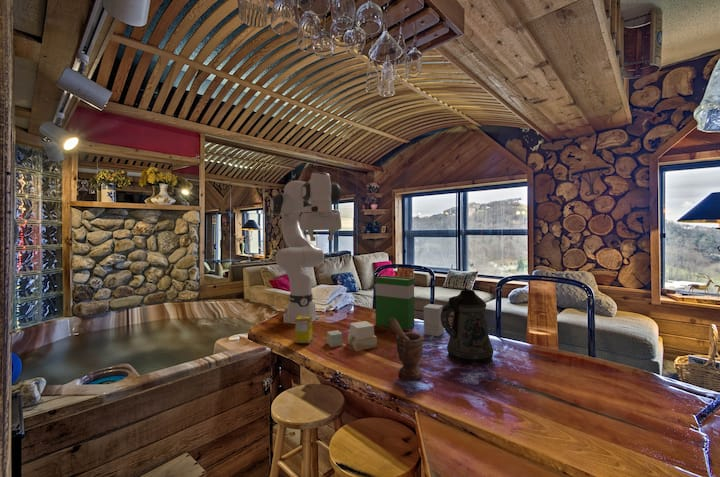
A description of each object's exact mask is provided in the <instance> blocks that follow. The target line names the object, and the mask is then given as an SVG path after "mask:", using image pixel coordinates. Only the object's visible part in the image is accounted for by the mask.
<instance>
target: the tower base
mask: <svg viewBox="0 0 720 477" xmlns="http://www.w3.org/2000/svg"><path fill="white" fill-rule="evenodd" d="M377 340H378V336H376V335H375V334H374V336H373V337H368V338H362V339H356V338H355V337H354V336H352V335H351V334H350V332H349V333H347V344H349V345H350V347H352V348H353V349H354V350H355V351H363V350H367V349H374V348H377V347H378V341H377Z"/></svg>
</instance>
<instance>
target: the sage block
mask: <svg viewBox="0 0 720 477" xmlns="http://www.w3.org/2000/svg"><path fill="white" fill-rule="evenodd" d="M326 344H327V345H328V346H329V347H330V348H334V347H339V346H340V347H341V346H343V333H342V332H341V331H340V330H338V329H336V330H329V331H326Z"/></svg>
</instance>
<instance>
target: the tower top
mask: <svg viewBox="0 0 720 477" xmlns="http://www.w3.org/2000/svg"><path fill="white" fill-rule="evenodd" d="M349 333H350V334H351V335H352V336H354V337H355V338H356V339H362V338H368V337H373V336H374V335H375V325H374V324H372V323H370V322H369V321H367V320H364V321H357V322H351V323H350V322H349Z"/></svg>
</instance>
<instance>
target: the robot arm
mask: <svg viewBox="0 0 720 477" xmlns="http://www.w3.org/2000/svg"><path fill="white" fill-rule="evenodd" d="M342 192H343V191H342V188H341V187H340V185H339V183H337V182H331V175H330V174H329V173H328V172H323V171H314V172H312V173H311V176H310V179H309V180H308V181H306V182H305V181H303V180H292V181H289V182H288V183H286V185H285V186H284V189H283V193H280V192H278V193H277V194H276V195H274V196H272V198H271V199H270V201H269V208H270V211H271V212H272V214H274V215H279V216H280V215H281V216H282V215H283V216H282V217H281V219H280V226H281V229H280V230H281V233H282V237H283V239H284V244H285V245H286V246H287V247H285V248H284V247H283V248H281V249H279V250H278V251H277V252H276V254H275V262H276V265H277V267H279V268H280V269H282V270H283V271H284V272H285V274H286V275H287V277H288V281H289V292H290V293H289V299H288V300H289V302H288V304H287V306H286V307H284V308H283V309H284V310H283V311H284V312H285V313H283V315H282V316H283V317H282V318H283V323H284V324H293V325H295V319H296V318H297V317H298V316H299V315H309V316H312V323H313V322H314V321H315V320H318V319H320V317H319V315H317V313H316V312H317V311H316V308H317V307H316V303H315V302H314V301H313V292H312V279H311V277H310V276H308V275H307V274H305V273H302V271H301V270H302V269H304V268H314V267H318V266H320V265H322V264H323V262H324V260H325V253H324V251H323V250H322V248H320V247H319V246H316V245H314V244H313V243H312V242H316V236H314V234H313V233H314V231H329V235H328V236H327V241H333V240H334V236H335V233H336V231H338V230H339V231H340V230H341V229H342V218H341V212H340V211H339V210H338V209H333V208H332V205H336V204H337V203H338V202H339V201H340V200H341V198H342V196H343V195H342ZM304 231H307V234H308V236H309V237H310V240H308V238H307V237H306V235H305V232H304Z"/></svg>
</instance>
